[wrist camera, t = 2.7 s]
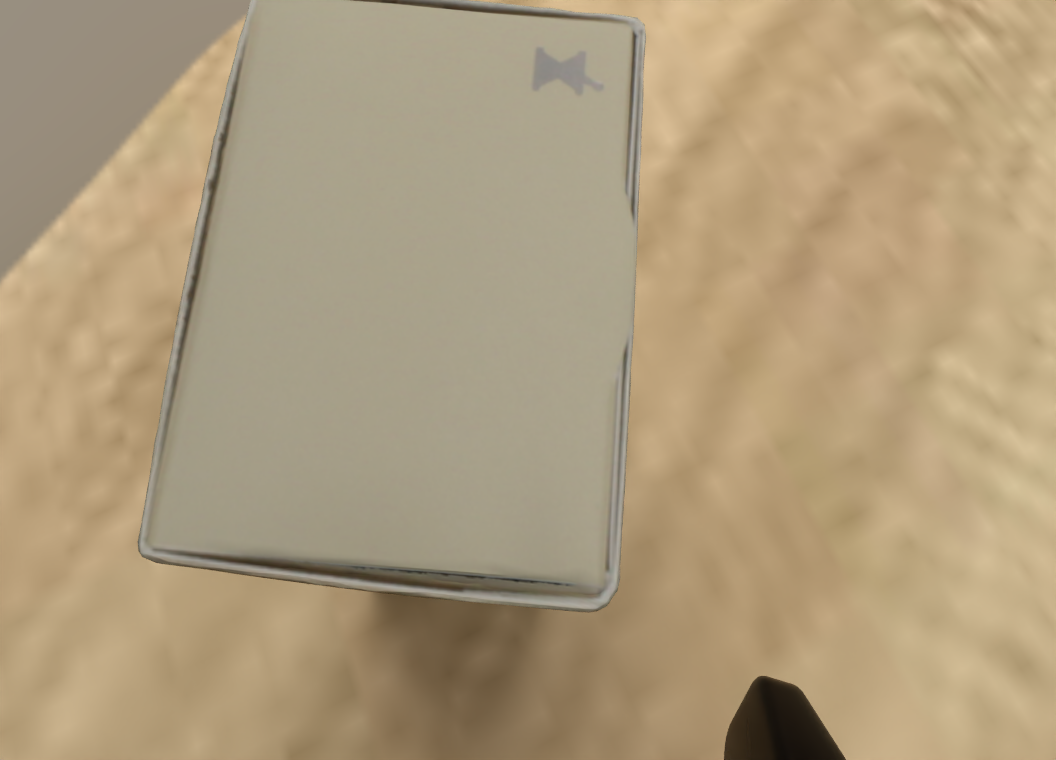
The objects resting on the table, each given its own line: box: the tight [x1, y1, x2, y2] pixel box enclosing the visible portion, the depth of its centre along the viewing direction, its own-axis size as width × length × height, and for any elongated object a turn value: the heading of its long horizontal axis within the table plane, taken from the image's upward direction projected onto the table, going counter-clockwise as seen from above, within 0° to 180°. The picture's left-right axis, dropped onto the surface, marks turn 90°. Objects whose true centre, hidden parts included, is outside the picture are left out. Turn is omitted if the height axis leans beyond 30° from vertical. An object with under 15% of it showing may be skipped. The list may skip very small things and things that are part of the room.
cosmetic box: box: [138, 0, 646, 612], centre depth 13 cm, size 6×4×12 cm
